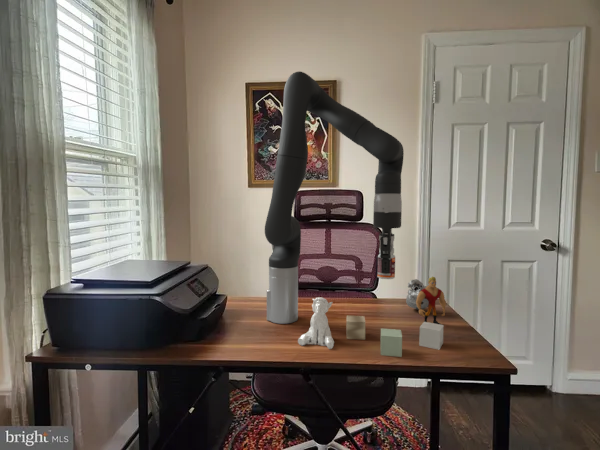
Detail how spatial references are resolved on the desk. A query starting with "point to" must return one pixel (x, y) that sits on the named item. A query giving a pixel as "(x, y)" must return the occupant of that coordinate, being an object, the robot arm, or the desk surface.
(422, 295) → the action figure
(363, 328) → the birch block
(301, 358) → the desk surface
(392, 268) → the pill bottle
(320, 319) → the white creature statuette
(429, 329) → the grey block
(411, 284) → the heart
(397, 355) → the sage block
